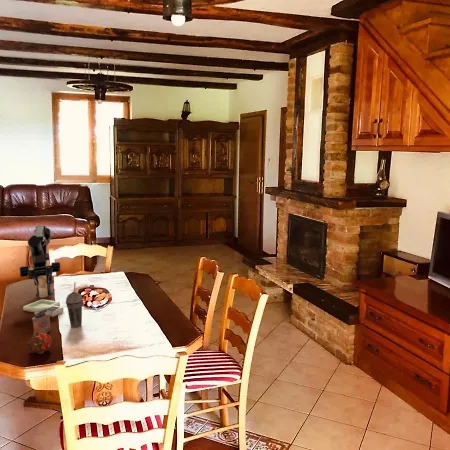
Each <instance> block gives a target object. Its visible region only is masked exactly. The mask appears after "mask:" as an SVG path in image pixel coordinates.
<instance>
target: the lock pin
mask: <svg viewBox="0 0 450 450" xmlns="http://www.w3.org/2000/svg"><path fill="white" fill-rule="evenodd" d="M38 284H39V285H38V288H39V296H38V298H47V297H48V296H49V295H48V291H47V279H46V276H45V275H41V276H38Z"/></svg>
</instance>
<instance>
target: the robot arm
mask: <svg viewBox="0 0 450 450" xmlns="http://www.w3.org/2000/svg"><path fill="white" fill-rule="evenodd" d="M51 239H52V232H51V229H50V228H48V227H46V225H36V226H35V228H34V231H33V234H31V235H30V237H29V238H28V240H27V245H28V248H29V251H30V253H31V254H30V255H31V260H32V266H31V267H29V265H24V266H23V265H22V266H20V267H19V277H21V278H23V277H28V278H31V279H32V280H33V283H34V286H36V293H37V294H36V293H35V296H36V297H39V288H38V285H39V284H38V276H41V275H45V276H46V279H47V291H48V296H50V295H53V294H54V292H52V288H51V285H52V284H53V283H54V281H53V280H54V279H53V275H52V274H53V273H59V272H61V263H60V262H59V261H54V262H51V263H50V265H48V264H47V263H48V261H49V260H50V254H49V253H48V245H49V244H50V243H51Z"/></svg>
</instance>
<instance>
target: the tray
mask: <svg viewBox="0 0 450 450" xmlns="http://www.w3.org/2000/svg"><path fill="white" fill-rule="evenodd" d="M52 305H53V306H59V307H61V303H60V301H55V300H50V299H43V298H42V299H39V300H36V301H33V302H31V303H29V304H26V305H24V306H23V307H22V308H23V309H22V310H23V311H24V312H25V311H26V312H29V313H30V312H31V313H36V312H37V311H38V310H40V311H41V310H43V309H45V308H48V307H50V306H52Z"/></svg>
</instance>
